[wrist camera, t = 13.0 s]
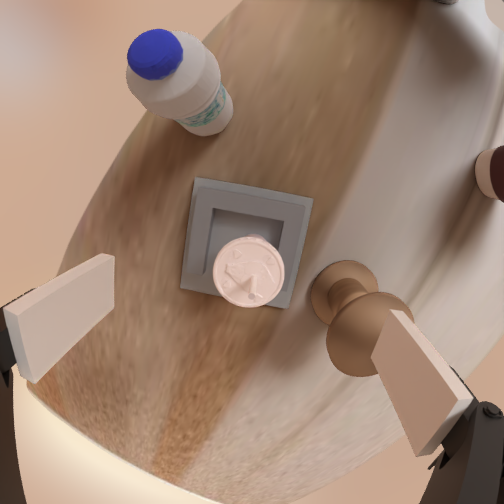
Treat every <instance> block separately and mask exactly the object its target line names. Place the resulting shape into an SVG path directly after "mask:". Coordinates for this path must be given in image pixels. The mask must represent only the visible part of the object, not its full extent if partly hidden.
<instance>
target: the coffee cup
mask: <svg viewBox="0 0 504 504" xmlns="http://www.w3.org/2000/svg"><path fill="white" fill-rule="evenodd" d="M475 175H476V181H477V184H478V186H479V188H480V190H481V191H482V192H483V193H484V194H485V195H486V196H488V197H490V198H494V199H498V200H501V201H502V202H504V146H500V147H498V148H495V149H489V150H485V151H483V152H482V153H481V154H480V155H479V156H478V158H477V161H476V165H475Z"/></svg>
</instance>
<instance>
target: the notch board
mask: <svg viewBox="0 0 504 504" xmlns="http://www.w3.org/2000/svg"><path fill="white" fill-rule="evenodd" d="M312 204H313V198H308V197H304V196H299V195H294V194H289V193H284V192H279V191H274V190H269V189H264V188H259V187H253V186H248V185H242V184H236V183H231V182H225V181H219V180H212V179H206V178H199V177H195V182H194V188H193V194H192V200H191V207H190V213H189V220H188V227H187V235H186V242H185V250H184V258H183V267H182V276H181V285H180V288H183V289H188V290H192V291H197V292H202V293H206V294H211V295H216V296H221V297H223V296H222V295H221V294H220V293H219V291H218V290H217V288H216V286H215V283H214V280H213V266H214V262H215V259H216V257H217V255H218V253H219V251H220V250H221V249H222V248H223V247H224V246H225V245H226V244H228V243H229V242H231V241H232V240H235V239H238V238H241V237H245V236H246V235H249V234H258V235H260V236H262V237H263V238H265V240H266V241H267V242H268V243H270V244H271V245H272V246H273V247H274V248H275V249H276V250H277V251H278V253H279V254H280V256H281V258H282V261H283V264H284V282H283V285H282V288H281V290H280V291H279V293H278V294H277V295H276V296H275V297H274V298H273V299H272V300H271V301H270V302H268V303H266V304H264V305H268V306H274V307H280V308H285V309H288V308H289V304H290V300H291V296H292V292H293V288H294V284H295V280H296V276H297V272H298V267H299V263H300V259H301V255H302V250H303V246H304V241H305V237H306V232H307V228H308V223H309V219H310V214H311V209H312Z"/></svg>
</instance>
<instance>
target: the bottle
mask: <svg viewBox="0 0 504 504" xmlns="http://www.w3.org/2000/svg"><path fill="white" fill-rule="evenodd" d="M127 59H128V66H127V71H126V79H127V84H128V87H129V89H130V91H131V92H132V94H133V95H134V96H135V97H136V98H137V99H138V100H139V101H140V102H141V103H142V104H143V106H144V107H145V108H146V109H147V110H149V111H150V112H152V113H154V114H156V115H158V116H161V117H163V118H167V119H173V120H175V121H176V122H178V123H180V124H181V125H182V126H183V127H184V128H185V129H186V130H188V131H189V132H191V133H193V134H196V135H199V136H208V135H213V134H216V133H219V132H221V131H222V130H224V128H225V127H226V126H227V124H228V123H229V121H230V120H231V118H232V116H233V103H232V100H231V97H230V96H229V94H228V92H227V91H226V90H225V88H224V87H223V85H222V83H221V81H220V80H221V74H220V70H219V66H218V63H217V60H216V58H215V57H214V55H213V54H212V53H211V52H210V51H209V50H208V49H207V48H206V47H205V46H204V45H203V44H202V43H201V42H200V41H199V40H198V39H197V38H196V37H194V36H193V35H191V34H189V33H186V32H181V31H167V30H163V29H155V30H154V29H153V30H150V31H147V32H144V33H142V34H141V35H139V36H138V37H137V38H136V39H135V40H134V41H133V42H132V44H131V46H130V48H129V50H128V54H127Z"/></svg>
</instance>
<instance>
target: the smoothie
mask: <svg viewBox="0 0 504 504" xmlns="http://www.w3.org/2000/svg"><path fill="white" fill-rule="evenodd" d="M213 280H214V283H215V286H216V288H217V290H218V291H219V293H220V294H221V295H222V296H223V297H224V298H225V299H226V300H227V301H229V302H230V303H232V304H234V305H237V306H241V307H247V308H251V307H258V306H262V305H264V304H266V303H268V302H270V301H271V300H272V299H273V298H274V297H275V296H276V295H277V294H278V293H279V291H280V290H281V288H282V285H283V282H284V264H283V261H282V258H281V256H280V254H279V253H278V251H277V250H276V249H275V248H274V247H273V246H272V245H271V244H270V243H268V242H267V241H266V240H265V238H263V237H262V236H260V235H258V234H249V235H246V236H245V237H241V238H238V239H235V240H232V241H231V242H229V243H228V244H226V245H225V246H224V247H223V248H222V249H221V250H220V251H219V253H218V255H217V257H216V259H215V262H214V266H213Z"/></svg>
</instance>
